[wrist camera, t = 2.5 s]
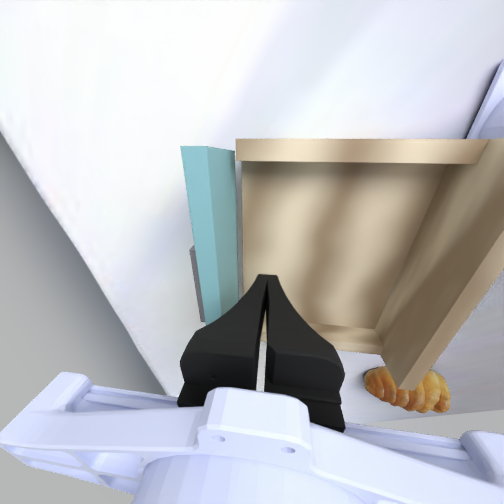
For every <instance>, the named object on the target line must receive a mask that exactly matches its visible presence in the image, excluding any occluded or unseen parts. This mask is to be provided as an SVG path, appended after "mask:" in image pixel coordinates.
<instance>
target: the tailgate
mask: <svg viewBox="0 0 504 504" xmlns="http://www.w3.org/2000/svg"><path fill="white" fill-rule="evenodd" d="M180 147H181V154H182V161H183V168H184V175H185V182H186V189H187V196H188V203H189V210H190V217H191V224H192V231H193V238H194V246H193V247H192V248H191V249H190V256H191V262H192V269H193V275H194V281H195V288H196V294H197V300H198V307H199V313H200V319H201V322H206V326H207V325H209V324H210V323H212V322H214V321H215V320H217V319H218V318H219V317H221V316H222V315H224V314H225V313H226V312H227V311H229V310H230V309H231V308H232V307H233V306H234V305H235V304H236V303H237V302H238V301H239V291H238V255H237V219H236V183H235V151H231V150H226V149H220V148H214V147H208V146H180Z"/></svg>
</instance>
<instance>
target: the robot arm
mask: <svg viewBox="0 0 504 504" xmlns="http://www.w3.org/2000/svg"><path fill="white" fill-rule="evenodd" d="M497 138H504V60H503V61H502V63H501V64H500V66H499V68H498V70H497V73H496V75H495V77H494V79H493V81H492V84H491V86H490V88H489V90H488V92H487V95H486V97H485V99H484V101H483V103H482V105H481V108H480V110H479V112H478V114H477V116H476V119H475V121H474V123H473V125H472V127H471V129H470V132H469V134H468V136H467V138H466V139H497ZM265 311H266V335H267V349H266V367H265V385H264V392H261V391H256V384H257V372H258V360H259V348H260V340H261V334H262V328H263V323H264V317H265ZM180 367H181V371H182V375H183V378H184V382H185V383H184V385H183V388H182V390H181V393H180V395H179V397H178V398H177V397H171V396H164V395H157V394H150V393H143V392H137V391H129V390H123V389H116V388H109V387H103V386H96V385H93V383H92V381H91V379H90V378H89V377H88V376H86V375H83V374H79V373H71V372H65V371H64V372H61V373H60V374H59V375H58V376H57V377H56V378H55V379H54V380H53V381H52V382H51V383H50V384H49V385H47V386H46V387H45V388H44V389H43V390H42V391H41V393H39V395H37V396H36V397H35V398H34V400H32V401H31V402H30V403H29V404H28V405H27V406H26V407H25V408H24V409H23V410H22V411H21V412H20V413H19V414H18V415H17V416H16V417H15V418H14V419H13V420H12V421H11V422H10V423H9V424H8V425H7V426H6V427H5V428H4V429H3V430H2V431H1V432H0V447H1V448H3V449H4V450H6V451H7V452H8V453H10V454H11V455H13V456H14V457H16V458H17V459H19V460H20V461H22V462H23V463H24V464H26V465H27V466H29V467H33V468H37V469H42V470H47V471H51V472H55V473H59V474H63V475H67V476H71V477H74V478H77V479H81V480H85V481H88V482H91V483H95V484H99V485H102V486H105V487H108V488H112V489H115V490H119V491H122V492H126V493H129V494H132V495H135V497H134V499H133V502H132V504H504V434H500V433H494V432H486V431H479V430H471V431H467V432H465V433H464V434H462V436H461V437H460V439H455V438H448V437H441V436H434V435H428V434H421V433H414V432H407V431H401V430H394V429H387V428H380V427H373V426H367V425H360V424H353V423H347V422H344V418H343V414H342V410H341V407H340V405H341V397H340V394H339V391H340V388H341V386H342V383H343V381H344V377H345V372H344V369H343V365H342V363H341V360H340V358H339V356H338V354H337V352H336V350H335V348H334V346H333V345H332V344H331V343H329V342H328V341H327V340H325V339H324V338H323V337H322V336H320V335H319V334H318V333H317V332H316V331H315V330H314V329H312V328H311V327H310V326H309V325H308V323H307V322H306V321H305V320H304V319H303V318H302V317H301V316H300V315H299V313H298V312H297V311H296V310H295V308H294V307H293V305H292V304H291V302H290V301H289V299H288V298H287V296H286V294H285V292H284V290H283V288H282V286H281V284H280V281H279V278H278V276H277V275H269V274H258V275H257V277H256V279H255V281H254V282H253V284H252V286H251V287H250V288H249V290H248V291H247V292H246V293H245V295H244V296H243V297H242V298H241V299H240V300H239V301H238V302H237V303H236V304H235V305H234V306H233V307H232V308H231V309H230V310H229V311H227V312H226V313H225V314H224V315H222V316H221V317H219V318H218V319H217V320H215V321H214V322H212V323H210V324H209V325H207V326H205V327H203V328H201V329H199V330H197V331H196V332H195V333H194V335H193V337H192V338H191V340H190V341H189V343H188V345H187V347H186V349H185V351H184V353H183V355H182V357H181V360H180Z"/></svg>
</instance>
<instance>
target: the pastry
mask: <svg viewBox="0 0 504 504" xmlns="http://www.w3.org/2000/svg"><path fill="white" fill-rule="evenodd" d="M364 382H365V389H366V390H367V391H368V392H369V393H371V394H372V395H374V396H375V397H377V398H379V399H380V400H381V401H385V402H389V403H390V404H391V405H393V406H400V407H402V408H404V409H405V410H407V411H414V410H416V411H418V412H420V413H426V412H427V411H429V410H432V411H435V412H437V413H443V412H446V411H447V410H448V409H449V408H450V399H451V398H450V392H449V389H448V386H447V384H446V381H445V379H444V378H443V376H442V375H440V374H438V373H436V372H434V371H432V370H429V371H428V372H427V374H426V375H425V376H424V378H423V379H422V381H421V382H420V383H419V385H418V386H417V387H416V389H415V390H414V391H411V390H404V389H398V387H397V385H396V384H395V382H394V380H393V378H392V376H391V374H390V372H389V370H388V368H387V366H383V367H378V368H376V369H372V370H369V371H368V372H367V373H366V374H365V377H364Z"/></svg>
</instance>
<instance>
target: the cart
mask: <svg viewBox="0 0 504 504" xmlns="http://www.w3.org/2000/svg"><path fill="white" fill-rule="evenodd" d="M236 161H242V232H243V296H244V295H245V293H246V292H247V291H248V290H249V288H250V287H251V286H252V284H253V282H254V281H255V279H256V277H257V275H258V274H269V275H277V276H278V278H279V281H280V284H281V286H282V288H283V290H284V292H285V294H286V296H287V298H288V299H289V301H290V302H291V304H292V305H293V307H294V308H295V310H296V311H297V312H298V313H299V315H300V316H301V317H302V318H303V319H304V320H305V321H306V322H307V323H308V325H309V326H310V327H311V328H312V329H314V330H315V331H316V332H317V333H318V334H319V335H320V336H322V337H323V338H324V339H325V340H327V341H328V342H329V343H331V344H332V345H333V346H334V348H335V350H342V351H351V352H360V353H369V354H377V355H381V357H382V359H383V361H384V363H385V365H386V366H387V368H388V370H389V372H390V374H391V376H392V378H393V380H394V382H395V384H396V385H397V387H398V389H404V390H411V391H414V390H415V389H416V387H417V386H418V385H419V383H420V382H421V381H422V379H423V378H424V376H425V375H426V374H427V372H428V371H429V370H430V368H431V367H432V366H433V364H434V363H435V362H436V360H437V359H438V357H439V356H440V355H441V353H442V352H443V351H444V349H445V348H446V347H447V345H448V344H449V343H450V341H451V340H452V338H453V337H454V336H455V334H456V333H457V332H458V330H459V329H460V328H461V326H462V325H463V324H464V322H465V321H466V319H467V318H468V317H469V315H470V314H471V313H472V311H473V310H474V309H475V307H476V306H477V305H478V303H479V302H480V301H481V299H482V298H483V296H484V295H485V294H486V292H487V291H488V290H489V288H490V287H491V286H492V284H493V283H494V282H495V280H496V279H497V277H498V276H499V275H500V273H501V272H502V271H503V269H504V138H497V139H236ZM260 341H263V342H267V335H266V311H265V317H264V323H263V328H262V334H261V340H260Z"/></svg>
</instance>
